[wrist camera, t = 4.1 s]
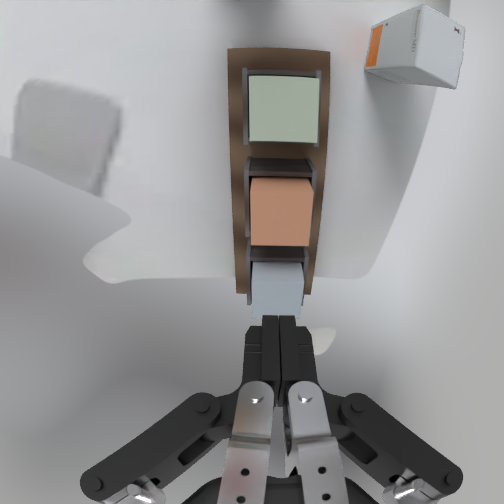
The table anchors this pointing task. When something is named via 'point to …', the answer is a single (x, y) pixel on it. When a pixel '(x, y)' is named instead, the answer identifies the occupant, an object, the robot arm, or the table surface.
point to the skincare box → (417, 48)
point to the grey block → (277, 288)
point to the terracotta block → (281, 210)
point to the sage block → (283, 108)
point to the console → (273, 155)
